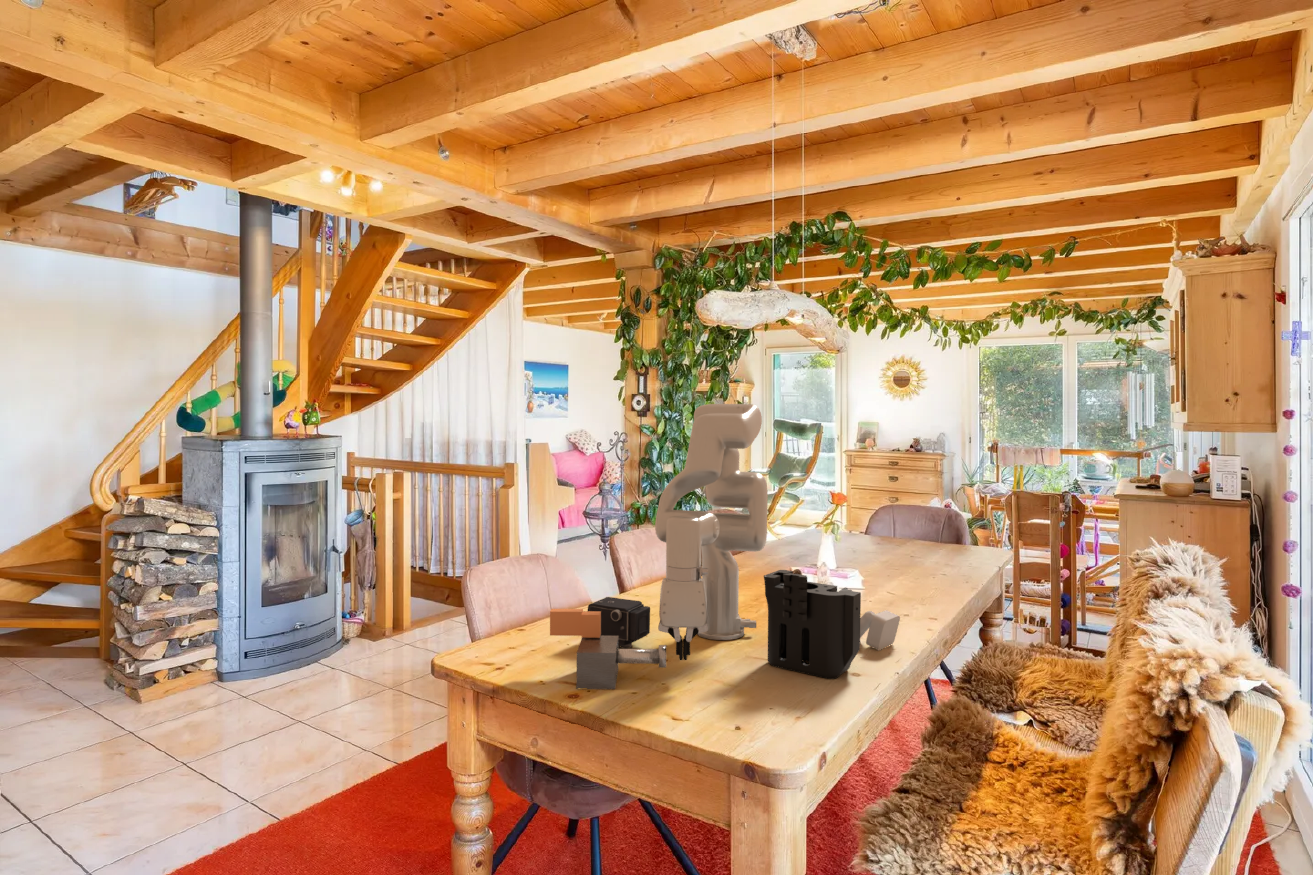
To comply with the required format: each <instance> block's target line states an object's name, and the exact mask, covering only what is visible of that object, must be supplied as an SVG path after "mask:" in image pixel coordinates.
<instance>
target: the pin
mask: <svg viewBox="0 0 1313 875" xmlns="http://www.w3.org/2000/svg"><path fill="white" fill-rule="evenodd" d="M616 663H618V664H649V665H650V664H654V665H655V664H658V668H662V669H663V668H667V645H665V644H664V645H663V644H659V645H658V648H618V649H617V650H616Z"/></svg>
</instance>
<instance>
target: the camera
mask: <svg viewBox="0 0 1313 875" xmlns="http://www.w3.org/2000/svg"><path fill="white" fill-rule="evenodd" d="M587 611H601V635H600V636H619V645H618V648H620V649H630V648H632V646H633V643H635V642H637V641H639V640H641V639H643V638H645V637H647V636H648V635H649V634H650V633H651V631H650V630H651V607H650V606H648V605H644V603H643V601H640V600H633V599H628V598H627V599H626V598H620V597H612V596H606V597H603V598H601V599H599V600H597V601H594V602H592V603H589V604H588V606H587Z"/></svg>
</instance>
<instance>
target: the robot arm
mask: <svg viewBox="0 0 1313 875" xmlns="http://www.w3.org/2000/svg"><path fill="white" fill-rule="evenodd" d="M762 423H763V416H762V413H761V410H760V408H759V407H758V406H757V405H756V404H753V403H752V404H751V403H708V404H702V405H700V406H698V407H696V408H695V410H694V413H693V424H692V427H691V433H690V439H689V443H688V450H687V454H686V459H685V465H684V468H683V469H682V470H681V471H680V472H679V473H678V474H677V475H675V476H674V477H673V478H672V479H671V480H670V481H669V482H668V484H667V485H666V487H665V488H664V490H663V491H662V493H661V494H660V498H659V502H658V507H657V510H656V517H655V525H654V526H655V527H654V528H655V535H656V537H657V538H658V540H659V541H661V542H663V543H665V548H666V549H665V577H663V578H662V581H661V585H660V595H659V597H660V598H659V623H658V627H657V628H658V631H659V632H661V633H665V634H668V635H670V636H671V637H672V638H673V639H674V640H675V655H676V656H678V659H679V661H688V656H690V655H691V642H692V640H693V639H694V637H696V636H697V635H698V636H699V637H701V638H704V639H707V640H713V641H714V640H715V641H730V640H736V639H739V638H742V637H743V636H744V634H745V628H749V629H757V620H753V619H751V618H742V617H741V616H740V613H739V589H740V587H739V585H740V584H739V582H740V581H739V578H740V577H739V574H740V572H739V570H740V569H739V564H738V562H737V560H736V558H735V557H734V555H733V554H732V552H733V551H739V552H752V553H754V552H760V551H762V550H763V549H764V548H765V546H766V544H767V537H768V536H767V535H768V499H769V498H768V494H769V493H768V483H767V480H766V478H765V477H764V475H762V473H759V472H755V471H741V470H740V452H739V449H740V450H743V449H749V447H750V446H751V445H752V444H753V442H754V441H755V440H756V438H757V437H758V435H760V434H759V433H760V432H761V429H762ZM703 487H705V496H706V501H707V503H708V504H709V505H710V506H713V507H716V508H725V509H728V508H729V509H746V511H748V513H735V512H710V511H703V510H702V511H701V510H688V509H687V510H683V509H674V508H675V506H676V505H677V503H678V502H679V500H680V499H682V498H683V497H684V496H685V495H687V494H689V493H691V492H693V491H696V490H698V489H701V488H703ZM731 551H732V552H731ZM680 628H686V630H685V634H684V636H682V635H681V631H680Z"/></svg>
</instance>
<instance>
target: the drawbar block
mask: <svg viewBox="0 0 1313 875" xmlns="http://www.w3.org/2000/svg"><path fill="white" fill-rule="evenodd" d="M617 649H619V636H600V638H585V637H582V636H581V640H580V641H579V645H578V648H577V651H576V689H577V688H587V689H586V690H616V685H617V680H618V674H619V663H616V650H617Z"/></svg>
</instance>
